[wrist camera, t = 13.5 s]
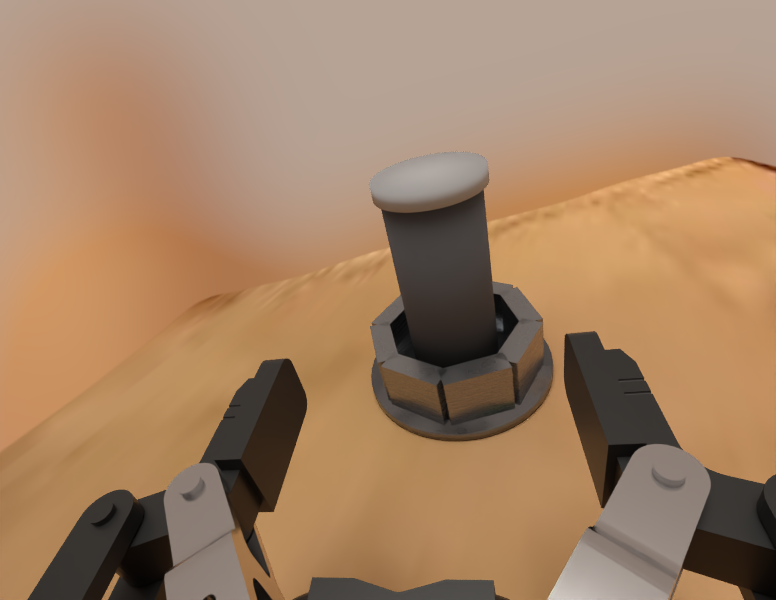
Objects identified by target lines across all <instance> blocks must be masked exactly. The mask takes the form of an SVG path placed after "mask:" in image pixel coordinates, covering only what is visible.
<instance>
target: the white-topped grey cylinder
mask: <svg viewBox="0 0 776 600" xmlns="http://www.w3.org/2000/svg"><path fill="white" fill-rule="evenodd" d="M488 183H489V172H488V161H487V159H486V158H485V157H483V156H482V155H479V154H476V153H470V152H444V153H436V154H430V155H425V156H420V157H416V158H412V159H409V160H405V161H403V162H400V163H397V164H394V165H392V166H390V167H388V168H386V169H384V170H382V171H380V172H379V173H377V174H376V175H375V176H374V177H373V178H372V179H371V180H370V183H369V186H370V190H371V195H372V199H373V203H374V204H375V205H376V206H377V207H378V208H380V209H381V210H382V214H383V219H384V223H385V227H386V232H387V236H388V240H389V245H390V249H391V253H392V258H393V262H394V266H395V271H396V275H397V279H398V284H399V288H400V292H401V297H402V301H403V305H404V310H405V314H406V318H407V323H408V327H409V331H410V336H411V340H412V344H413V349H414V353H415V357H416V360H419V361H422V362H425V363H428V364H431V365H434V366H438V367H441V368H446V367H449V366H453V365H457V364H461V363H464V362H468V361H472V360H475V359H479V358H483V357H487V356H490V355H494V354H497V353H498V352H499V347H498V336H497V326H496V315H495V305H494V294H493V284H492V273H491V263H490V252H489V242H488V231H487V221H486V211H485V200H484V188H485V187H486V186H487V185H488Z"/></svg>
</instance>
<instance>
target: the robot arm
mask: <svg viewBox="0 0 776 600" xmlns="http://www.w3.org/2000/svg"><path fill="white" fill-rule="evenodd" d="M564 382H565V389H566V394H567V398H568V401H569V404H570V407H571V411H572V414H573V417H574V420H575V424H576V427H577V430H578V433H579V437H580V440H581V443H582V446H583V450H584V453H585V456H586V459H587V463H588V466H589V469H590V472H591V476H592V479H593V482H594V485H595V489H596V492H597V495H598V498H599V502H600V505H601V508H604V510H603V512H602V513H601V515H600V517H599V519H598V521H597V523H596V524H595V525H594V526H593V527H591V526H590V527H588V528H587V530H586V531H585V532H584V534H583V535H582V537H581V539H580V540H579V542H578V544H577V546H576V548H575V550H574V551H573V553H572V555H571V557H570V559H569V561H568V562H567V564H566V566H565V568H564V570H563V572H562V574H561V575H560V577H559V579H558V581H557V583H556V585H555V586H554V588H553V590H552V592H551V594H550V596H549V597H548V599H547V600H672V598H673V595H674V592H675V590H676V587H677V584H678V582H679V579H680V576H681V574H682V571H683V569H686V570H689V571H692V572H695V573H698V574H702V575H705V576H708V577H711V578H714V579H717V580H721V581H724V582H727V583H730V584H733V585H736V586H738V587H739V589H740V591H741V594H742V596H743V598H744V600H776V475H774V476H772V477H771V478H769V479H768V480H767V482H766V483H765V484H762V483H757V482H753V481H748V480H744V479H739V478H735V477H730V476H726V475H723V474H719V473H717V472H714V471H711V470H709V469H707V468H705V467H704V466H703V465H702V464H701V463H700V462H699V461H698V460H697V459H696V458H695V457H693V456H692V455H691V454H689V453H687V452H686V451H683V449H682V448H681V447H680V445H679V444H678V442H677V440H676V438H675V436H674V434H673V432H672V430H671V428H670V427H669V425H668V423H667V421H666V419H665V417H664V415H663V413H662V411H661V409H660V407H659V405H658V404H657V402H656V400H655V398H654V396H653V394H651V390H650V388H649V386H648V384H647V383H646V381H644V377H643V375H642V373H641V371H640V369H639V367H638V365H637V363H636V362H635V361H634V360H633V359H632V358H630V357H629V356H628V355H627V354H626V353H624V352H623V351H622V350H621V349H611V350H604V348H603V345H602V343H601V341H600V339H599V336H598V334H597V333H596V332H595V331H593V332H582V333H571V334H566V335H565V349H564ZM306 410H307V398H306V394H305V391H304V389H303V386H302V384H301V382H300V380H299V377H298V375H297V373H296V371H295V368H294V366H293V364H292V362H291V360H290V359H276V360H265V361H263V362H262V363H261V365H260V367H259V369H258V371H257V373H256V375H255V377H254V378H250V379H248V380H247V381H246V382H245V383H244V384H243V385H242V386H241V387H240V388H239V389H238V390H237V391H236V393H235V395H234V397H233V399H232V401H231V403H230V405H229V408H228V409H227V411H226V412H225V414H224V416H223V420H221V422H220V424H219V426H218V428H217V430H216V432H215V434H214V436H213V438H212V440H211V441H210V443H209V445H208V447H207V449H206V451H205V453H204V455H203V457H202V459H201V461H200V462H199V464H195V465H193V466H191V467H189V468H187V469H185V470H184V471H182V472H181V473H180V474H178V475H177V476H176V477H175V478H174V479H173V481H172V482H171V483H170V485H169V486H168V488H167V490H165V491H162V492H159V493H156V494H153V495H150V496H147V497H144V498H141V499H138V500H137V499H136V498H135V497H134V496H133V495H132V494H131V493H130V492H129V491H127V490H115V491H112V492H110V493H107V494H105V495H104V496H102V497H100V498H99V499H97V500H96V501H95V502H94V503H92V504H91V505H90V506H89V507H88V508H87V509H86V510H85V512H84V513H83V514H82V515H81V517H80V518H79V520H78V521H77V523H76V525H75V526H74V528H73V529H72V531H71V532H70V534H69V536H68V537H67V539H66V540H65V542H64V543H63V545H62V546H61V548H60V550H59V551H58V553H57V554H56V556H55V557H54V559H53V561H52V562H51V564H50V565H49V567H48V568H47V570H46V571H45V573H44V575H43V576H42V578H41V579H40V581H39V582H38V584H37V586H36V587H35V589H34V590H33V592H32V593H31V595H30V596H29V598H28V600H101V599H102V598H103V596H104V594H105V592H106V590H107V588H108V586H109V584H110V582H111V580H112V578H113V576H114V574H115V572H116V573H117V574H118V575H119V576H120V577H119V579H118V581H117V583H116V585H115V587H114V589H113V591H112V593H111V595H110V597H109V599H108V600H285V598H284V597H283V595H282V593H281V591H280V589H279V586H278V584H277V582H276V579H275V576H274V573H273V570H272V568H271V565H270V562H269V559H268V556H267V553H266V551H265V548H264V545H263V542H262V539H261V537H260V534H259V531H258V528H257V526H256V524H255V520H256V518H257V515H258V512H274V509H275V506H276V503H277V500H278V497H279V494H280V491H281V488H282V485H283V482H284V479H285V476H286V473H287V469H288V466H289V463H290V460H291V457H292V454H293V451H294V448H295V445H296V442H297V439H298V436H299V433H300V430H301V427H302V424H303V420H304V417H305V414H306ZM293 600H509V599H507V598H504V597H502V596H499V595H496V593H495V587H494V581H493V580H443V581H439V582H436V583H432V584H429V585H425V586H421V587H418V588H414V589H410V590H407V591H403V592H394V591H391V590H388V589H385V588H382V587H379V586H376V585H373V584H370V583H367V582H364V581H361V580H358V579H355V578H312V581H311V586H310V590H309V593H305V594H303V595H301V596H299V597H296V598H294V599H293Z"/></svg>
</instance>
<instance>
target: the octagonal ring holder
mask: <svg viewBox="0 0 776 600" xmlns="http://www.w3.org/2000/svg"><path fill="white" fill-rule="evenodd" d="M492 284H493V294H494V305H495V315H496V326H497V336H498V347H499V352H498V353H497V354H494V355H490V356H487V357H483V358H479V359H475V360H472V361H468V362H464V363H461V364H457V365H453V366H449V367H446V368H441V367H438V366H434V365H431V364H428V363H425V362H422V361H419V360H416V357H415V353H414V349H413V344H412V340H411V336H410V331H409V327H408V323H407V318H406V314H405V310H404V305H403V301H402V297H401V295H400V296H399V297H398V298H397V299H396V300H395V301H394V302H393V303H392V304H391V305H390V306H388V307H387V308H386V309H385V310H384V311H383V312H382V313H381V314H380V315H379V316H378V317H377V318H376V319H375V320H374V321H373V322H372V326H370V329H371V334H372V338H373V343H374V348H375V353H376V358H375V360H374V364H373V367H372V376H371V377H372V386H373V389H374V393H375V396H376V399H377V401H378V403H379V405H380V407H381V408H382V410H383V411H384V412H385V414H386V415H387V416H388V417H389V418H390V419H391V420H392V421H394V422H395V423H396V424H398V425H399V426H401V427H402V428H404V429H406V430H408V431H410V432H412V433H415V434H418V435H420V436H423V437H428V438H432V439H438V440H446V441H465V440H475V439H480V438H485V437H489V436H492V435H495V434H498V433H501V432H504V431H506V430H508V429H510V428H512V427H515V426H516V425H518V424H519V423H521V422H522V421H524V420H526V419H527V418H528V417H529V416H530V415H532V414H533V413H534V412H535V411H536V410H537V409H538V407H539V406H540V405H541V404H542V403H543V401H544V399H545V398H546V396H547V394H548V392H549V390H550V387H551V383H552V378H553V360H552V355H551V351H550V349H549V347H548V344H547V343H546V341H545V340H544V338H543V318H542V317H541V316H540V315H539V313H538V312H537V311H536V310H535V308H534V307H533V306H532V305H531V303H530V302H529V301H528V300H527V299H526V297H525V296H524V295H523V294H522V292H521V291H520V290H519V289H518V287H516V288H513V285H510V284H504V283H498V282H492Z"/></svg>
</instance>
